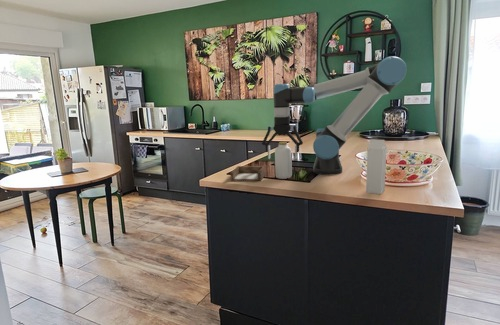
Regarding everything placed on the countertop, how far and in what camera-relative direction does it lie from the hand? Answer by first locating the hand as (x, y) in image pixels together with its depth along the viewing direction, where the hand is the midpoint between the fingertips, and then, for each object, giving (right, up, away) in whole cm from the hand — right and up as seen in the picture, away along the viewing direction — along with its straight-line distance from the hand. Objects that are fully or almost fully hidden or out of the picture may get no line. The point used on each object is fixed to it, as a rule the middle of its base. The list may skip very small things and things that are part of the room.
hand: (282, 158), depth 159 cm
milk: (+36, -14, -27) cm, 47 cm away
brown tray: (-17, -10, +5) cm, 20 cm away
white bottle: (+1, -10, +2) cm, 10 cm away
